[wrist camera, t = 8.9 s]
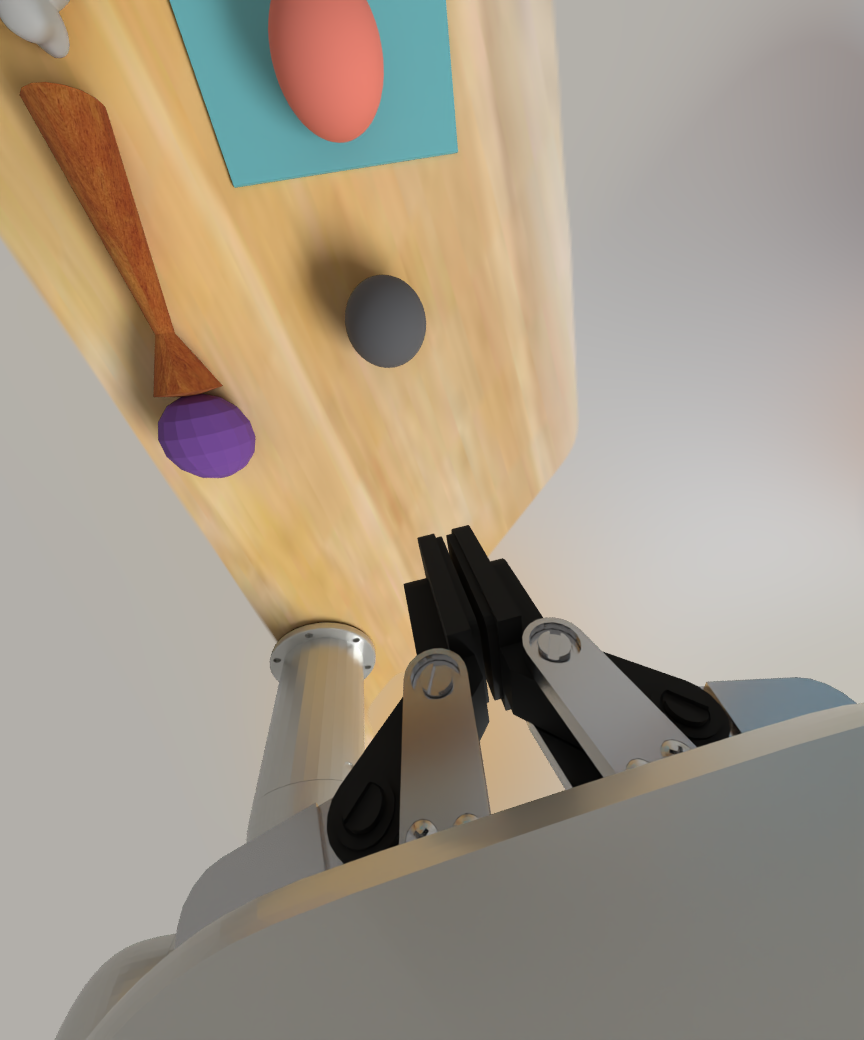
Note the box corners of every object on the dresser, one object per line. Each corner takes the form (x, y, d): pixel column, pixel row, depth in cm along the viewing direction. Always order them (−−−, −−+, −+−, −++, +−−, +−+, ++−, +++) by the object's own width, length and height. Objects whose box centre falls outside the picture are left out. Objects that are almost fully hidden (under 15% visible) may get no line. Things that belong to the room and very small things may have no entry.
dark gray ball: (432, 282, 20) (413, 260, 23) (337, 296, 19) (333, 270, 23) (436, 374, 24) (419, 343, 28) (359, 387, 23) (352, 354, 27)
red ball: (389, 8, 14) (362, -90, 15) (257, 25, 14) (235, -77, 14) (397, 163, 20) (377, 85, 20) (302, 177, 19) (285, 98, 20)
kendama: (108, 66, 15) (263, 477, 25) (153, 138, 20) (268, 457, 30) (-63, 55, 14) (171, 497, 23) (31, 136, 19) (193, 472, 28)
